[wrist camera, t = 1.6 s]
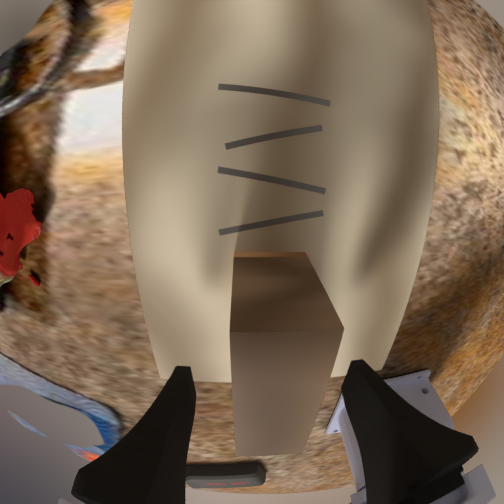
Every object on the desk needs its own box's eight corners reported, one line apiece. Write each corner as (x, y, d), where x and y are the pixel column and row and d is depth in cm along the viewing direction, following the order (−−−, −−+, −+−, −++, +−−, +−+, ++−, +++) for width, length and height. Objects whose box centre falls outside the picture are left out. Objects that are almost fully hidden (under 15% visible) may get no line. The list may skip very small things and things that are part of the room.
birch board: (413, 1, 9) (425, -6, 7) (374, 356, 19) (381, 369, 17) (149, -26, 8) (142, -37, 7) (164, 363, 18) (160, 378, 17)
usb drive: (265, 471, 28) (266, 487, 26) (183, 474, 29) (182, 489, 26) (258, 459, 26) (259, 477, 24) (168, 461, 27) (166, 478, 24)
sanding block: (305, 252, 13) (344, 328, 8) (288, 376, 17) (302, 452, 11) (233, 252, 13) (229, 332, 8) (236, 377, 17) (236, 456, 11)
